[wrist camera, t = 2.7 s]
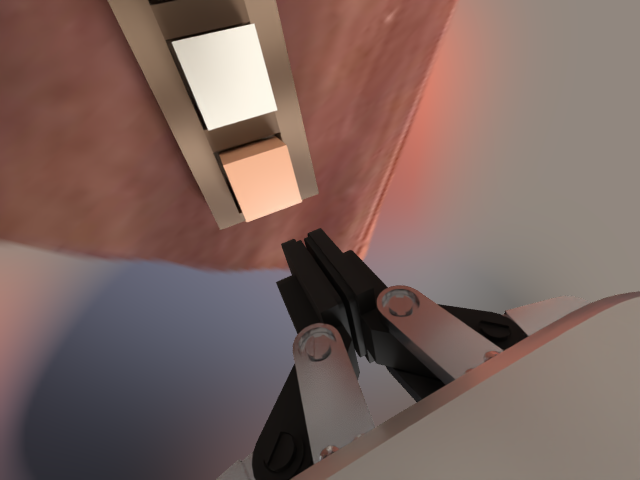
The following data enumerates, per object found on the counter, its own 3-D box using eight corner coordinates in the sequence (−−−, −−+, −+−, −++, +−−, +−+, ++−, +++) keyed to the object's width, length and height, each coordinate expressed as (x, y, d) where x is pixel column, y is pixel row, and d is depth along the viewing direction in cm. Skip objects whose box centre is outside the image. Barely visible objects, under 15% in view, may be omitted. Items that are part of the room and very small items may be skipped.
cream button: (174, 46, 15) (171, 41, 13) (244, 30, 16) (254, 23, 14) (205, 122, 18) (208, 130, 15) (266, 105, 18) (277, 110, 16)
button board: (55, -124, 13) (23, -170, 10) (227, -141, 14) (234, -183, 12) (217, 213, 23) (220, 229, 21) (306, 181, 25) (318, 193, 22)
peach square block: (218, 153, 19) (222, 165, 16) (274, 135, 19) (286, 144, 17) (240, 205, 21) (246, 222, 19) (289, 187, 22) (301, 201, 19)
